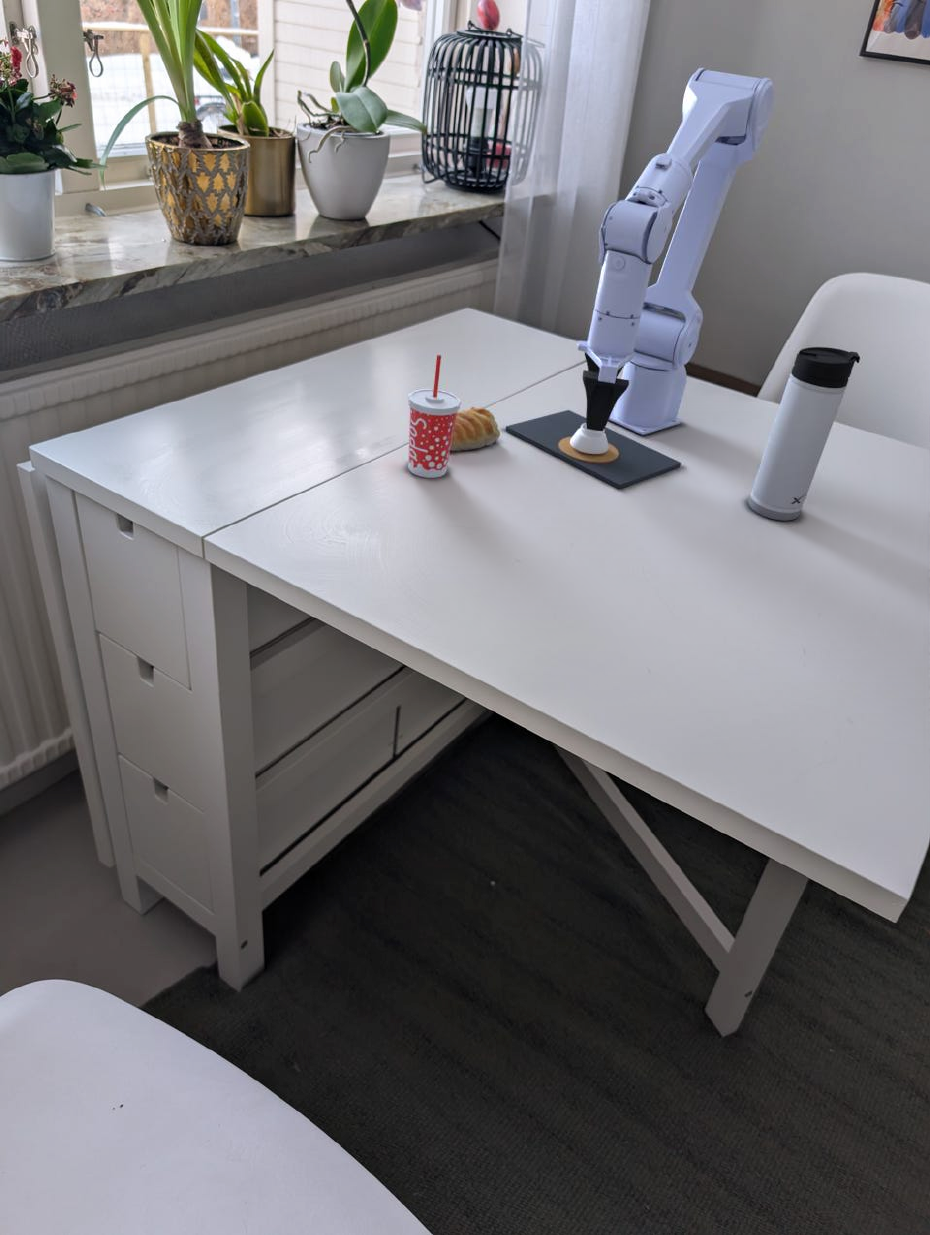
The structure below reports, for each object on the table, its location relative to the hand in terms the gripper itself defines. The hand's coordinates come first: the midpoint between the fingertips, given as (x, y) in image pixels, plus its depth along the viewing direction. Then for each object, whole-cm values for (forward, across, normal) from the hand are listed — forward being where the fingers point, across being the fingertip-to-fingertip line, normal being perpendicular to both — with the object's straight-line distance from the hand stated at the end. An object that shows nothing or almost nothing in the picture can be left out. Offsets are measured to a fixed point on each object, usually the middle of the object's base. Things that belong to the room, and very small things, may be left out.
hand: (595, 418), depth 115 cm
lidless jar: (+4, 0, 0) cm, 4 cm away
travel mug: (+5, +8, +24) cm, 25 cm away
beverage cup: (+5, +13, -19) cm, 24 cm away
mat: (+5, -2, 0) cm, 5 cm away
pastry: (+5, +2, -16) cm, 17 cm away
